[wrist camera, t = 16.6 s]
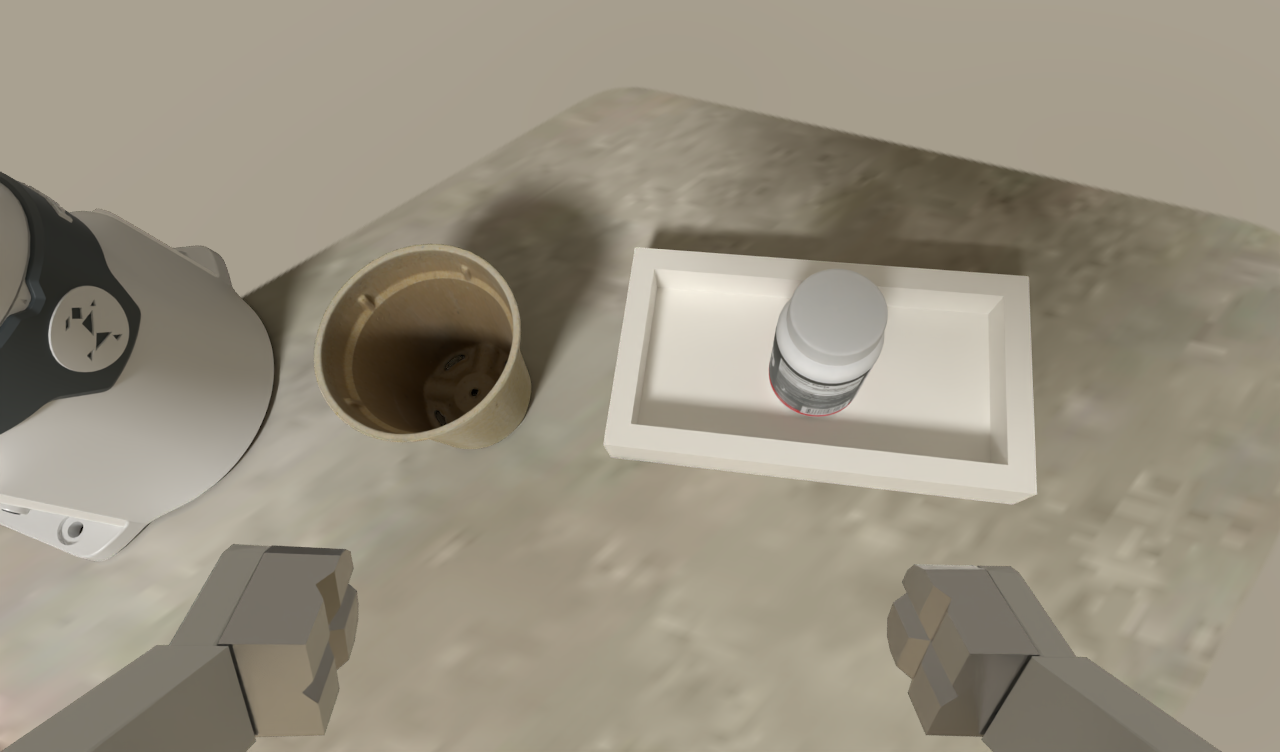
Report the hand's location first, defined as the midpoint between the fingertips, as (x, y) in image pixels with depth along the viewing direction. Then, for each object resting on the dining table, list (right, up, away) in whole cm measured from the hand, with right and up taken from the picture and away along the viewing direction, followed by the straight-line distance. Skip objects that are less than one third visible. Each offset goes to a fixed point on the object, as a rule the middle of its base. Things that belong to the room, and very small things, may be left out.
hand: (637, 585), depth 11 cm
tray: (+9, +3, +28) cm, 29 cm away
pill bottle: (+9, +3, +27) cm, 29 cm away
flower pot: (-9, +2, +29) cm, 31 cm away
